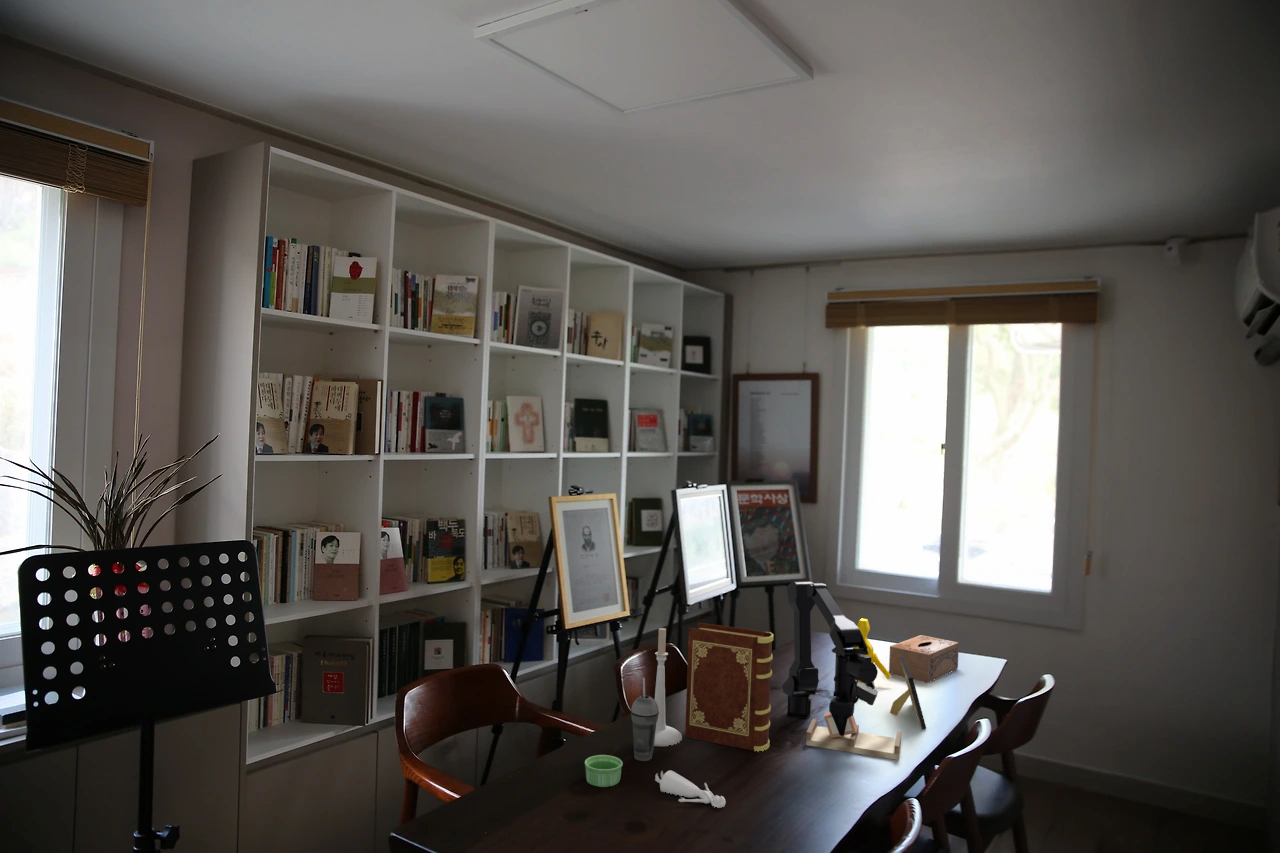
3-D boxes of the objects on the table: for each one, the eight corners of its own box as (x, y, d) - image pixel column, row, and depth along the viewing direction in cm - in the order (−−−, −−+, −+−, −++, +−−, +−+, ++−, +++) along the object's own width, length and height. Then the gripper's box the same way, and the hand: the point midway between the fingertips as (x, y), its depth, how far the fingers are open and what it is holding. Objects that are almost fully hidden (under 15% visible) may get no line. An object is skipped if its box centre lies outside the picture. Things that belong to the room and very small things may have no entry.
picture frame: (926, 729, 241) (921, 677, 242) (894, 729, 243) (889, 678, 244) (916, 704, 264) (912, 656, 264) (887, 705, 266) (883, 657, 266)
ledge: (806, 745, 226) (806, 732, 226) (812, 730, 238) (813, 718, 238) (898, 760, 218) (899, 746, 218) (901, 744, 229) (901, 731, 229)
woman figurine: (672, 760, 202) (738, 786, 191) (671, 778, 202) (736, 805, 191) (644, 775, 192) (712, 803, 182) (643, 794, 192) (710, 823, 182)
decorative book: (772, 743, 226) (776, 632, 227) (764, 753, 219) (768, 638, 219) (695, 728, 236) (698, 621, 236) (684, 737, 229) (688, 627, 229)
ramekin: (585, 772, 204) (586, 753, 204) (622, 773, 203) (623, 755, 203) (582, 787, 195) (582, 768, 195) (620, 789, 194) (621, 770, 194)
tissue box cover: (928, 683, 289) (929, 654, 289) (888, 674, 298) (889, 646, 298) (957, 669, 308) (958, 642, 308) (919, 661, 317) (920, 634, 317)
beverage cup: (637, 764, 209) (639, 684, 209) (624, 754, 215) (626, 676, 215) (662, 760, 212) (665, 681, 212) (649, 750, 218) (651, 673, 219)
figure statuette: (892, 685, 284) (895, 620, 285) (885, 690, 278) (888, 624, 278) (842, 675, 294) (844, 612, 294) (834, 680, 288) (836, 616, 288)
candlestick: (666, 750, 219) (671, 635, 219) (625, 739, 226) (629, 627, 226) (690, 735, 230) (694, 626, 230) (650, 725, 237) (654, 619, 237)
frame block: (830, 738, 228) (823, 716, 229) (832, 733, 232) (825, 711, 232) (856, 733, 226) (848, 711, 226) (857, 728, 229) (850, 706, 230)
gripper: (873, 686, 217) (871, 746, 217) (879, 668, 235) (877, 723, 235) (829, 680, 221) (827, 739, 221) (838, 662, 239) (836, 717, 239)
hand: (843, 730), depth 229 cm, fingers open, 9 cm apart
